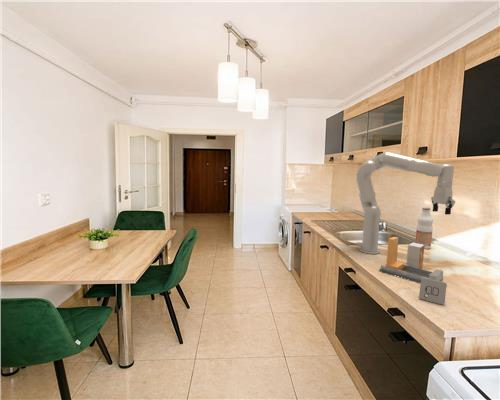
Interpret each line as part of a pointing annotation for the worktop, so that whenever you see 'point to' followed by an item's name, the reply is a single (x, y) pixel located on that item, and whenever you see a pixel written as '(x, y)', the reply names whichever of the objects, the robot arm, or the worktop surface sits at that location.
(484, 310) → the worktop surface
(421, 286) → the electrical switch
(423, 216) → the fruit juice
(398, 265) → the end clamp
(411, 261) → the small box
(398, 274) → the din rail
